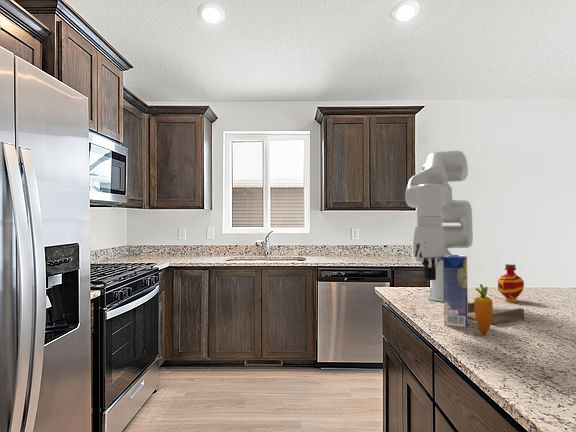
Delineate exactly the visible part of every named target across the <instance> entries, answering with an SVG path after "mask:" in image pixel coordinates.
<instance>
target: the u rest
mask: <svg viewBox="0 0 576 432" xmlns="http://www.w3.org/2000/svg"><path fill="white" fill-rule="evenodd" d="M523 320H525V308H520V307H519V308H512V309H508V310H501V311H500V310H499V311H498V310H494V309H493V310H492V320H491V325H492V326H495V325H500V324H501V325H502V324H506V323H511V322H512V323H513V322H517V321H523ZM468 321H474V322H476V317H475V308H474V301H472V302H468ZM491 325H490V326H491Z"/></svg>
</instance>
